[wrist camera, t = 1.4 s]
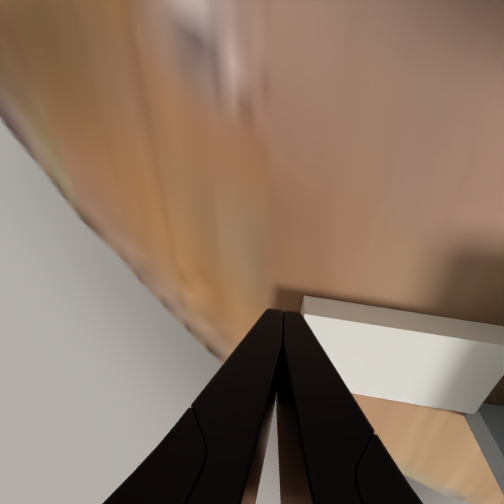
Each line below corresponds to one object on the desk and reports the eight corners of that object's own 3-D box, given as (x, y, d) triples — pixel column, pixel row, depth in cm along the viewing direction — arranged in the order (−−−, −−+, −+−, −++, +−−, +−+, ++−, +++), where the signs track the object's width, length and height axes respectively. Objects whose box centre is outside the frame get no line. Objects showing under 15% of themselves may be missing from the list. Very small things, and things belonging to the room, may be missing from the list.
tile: (500, 321, 22) (523, 348, 19) (458, 385, 25) (474, 414, 23) (303, 291, 23) (304, 314, 20) (289, 357, 26) (288, 382, 24)
